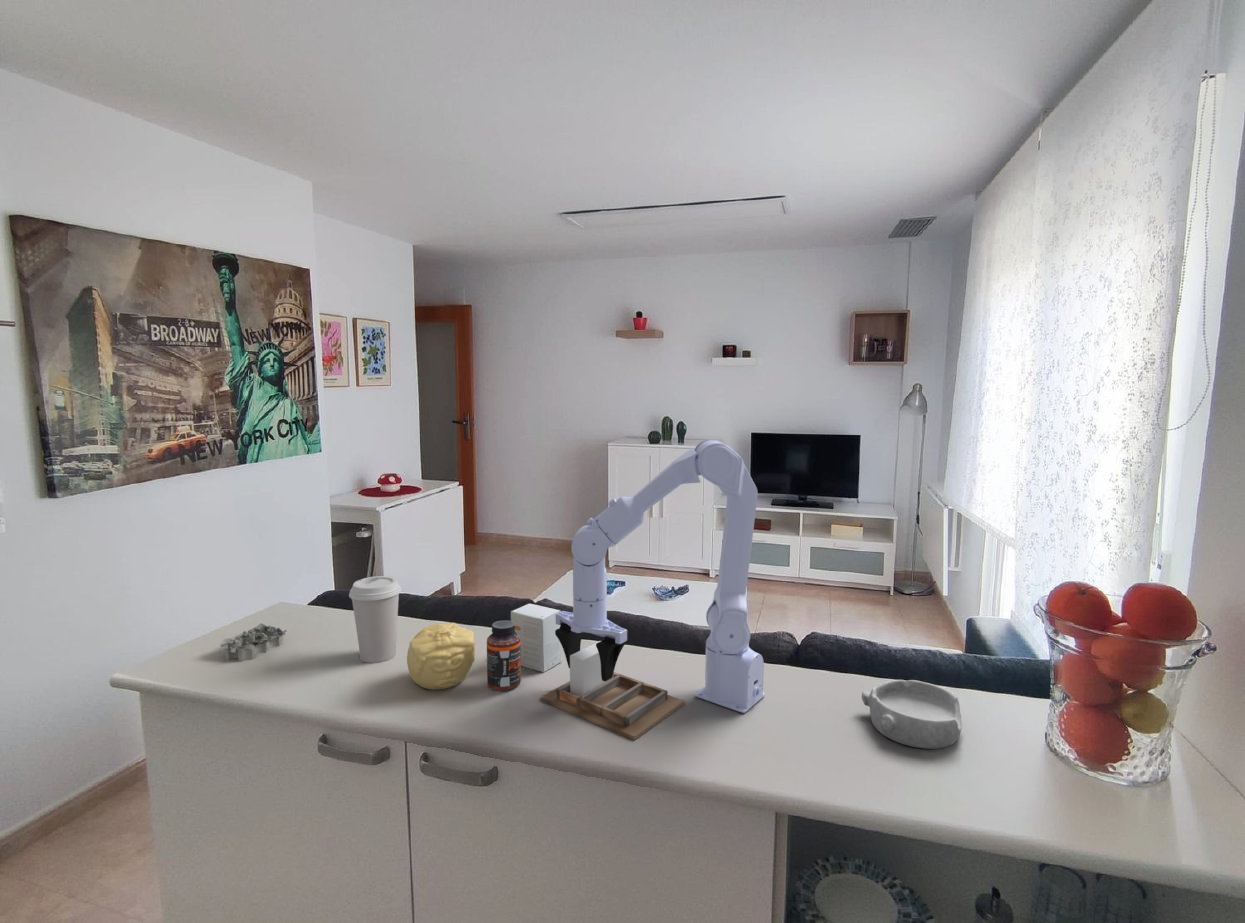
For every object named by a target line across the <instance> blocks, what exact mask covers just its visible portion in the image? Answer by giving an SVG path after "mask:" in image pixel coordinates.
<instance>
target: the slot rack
mask: <svg viewBox="0 0 1245 923" xmlns="http://www.w3.org/2000/svg"><path fill="white" fill-rule="evenodd" d="M539 700H540V701H542V702H543V703H545V704H548V705H549V706H550V705H551V706H553V707H555V708H558V709H560V710H562V711H564V710H565V711H564V712H566V713H569V714H572V715H573V716H576V717H578V718H581V719H583V720H585V719H586V721H588V722H590V723H593V724H595V723H596V724H595V725H597V724H598V726H599V725H600V727H602V728H605V729H606V728H608V729H607V730H609V729H610V730H609V731H611V730H612V732H613V731H614V733H616V734H618V733H620V734H619V735H620V736H623V735H624V737H626V738H628V739H630V738H631V739H630V740H632V739H633V741H636V740H637V739H639V738H640V737H641V736H643V735H644V734H646V733H647V732H648V731H649V730H651V729H653V728H654V727H655V726H656V725H658V724H659V723H661V722H662V721H663V720H665V719H666V718H668V717H669V716H670V715H672V714H673V713H674V712H675V711H677V710H679V709H680V708H681V707H682V706H684V705H685V700H684V699H680V698H678V697H676V696H672V695H670V694H669V693H668V690H666V689H663V688H660V687H658V686H655V685H652V684H649V683H646V682H645V681H644V682H643V681H641V680H639V679H638V680H637V679H635V678H632V677H629V676H627V675H624V674H621V673H618V672H615V671H614V673H613V678H612V679H610V680H609V681H607V682H605V683H603V684H602V685H600V686H598V687H596V688H595V689H593V690H591V691H589V692H588V693H586V694H584V695H583V696H581V697H579V696H577V695H574V694H572V693H570V680H569V681H567V682H565V683H564V684H562V685H560V686H558V687H555V688H554V689H552V690H551V691H549V692H547V693H545V694H543V695H541V696H539Z"/></svg>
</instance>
